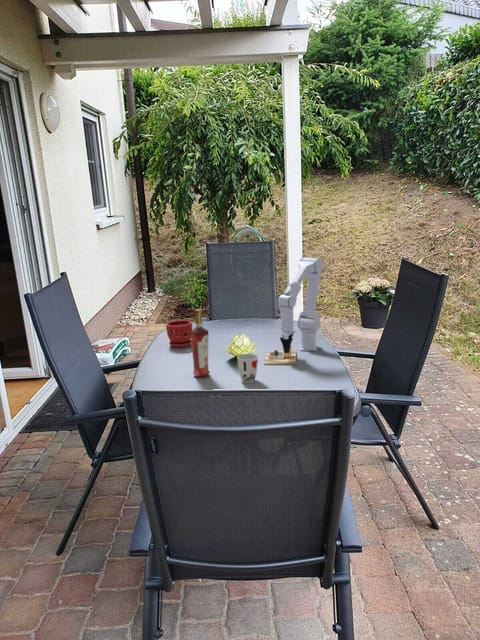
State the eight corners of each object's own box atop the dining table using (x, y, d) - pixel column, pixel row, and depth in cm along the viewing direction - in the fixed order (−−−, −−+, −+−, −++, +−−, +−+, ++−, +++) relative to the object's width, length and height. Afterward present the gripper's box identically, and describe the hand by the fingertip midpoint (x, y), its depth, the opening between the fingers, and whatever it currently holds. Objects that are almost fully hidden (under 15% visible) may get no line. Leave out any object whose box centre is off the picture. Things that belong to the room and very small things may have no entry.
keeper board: (266, 352, 227) (266, 344, 226) (296, 352, 225) (296, 344, 224) (263, 364, 209) (263, 356, 208) (295, 364, 208) (295, 356, 207)
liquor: (201, 371, 203) (198, 307, 196) (214, 374, 198) (211, 309, 192) (189, 376, 197) (185, 310, 191) (201, 379, 193) (198, 312, 186)
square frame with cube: (291, 354, 220) (291, 344, 219) (290, 359, 213) (290, 348, 212) (269, 354, 221) (269, 343, 220) (268, 358, 215) (268, 348, 213)
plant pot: (195, 341, 249) (194, 319, 247) (190, 348, 237) (189, 325, 234) (170, 341, 251) (169, 319, 248) (164, 348, 238) (163, 325, 235)
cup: (241, 385, 186) (240, 360, 184) (235, 378, 193) (235, 354, 191) (260, 382, 188) (260, 358, 186) (254, 376, 195) (254, 352, 193)
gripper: (295, 325, 205) (295, 355, 208) (296, 317, 219) (296, 345, 222) (278, 325, 206) (279, 354, 209) (281, 317, 220) (281, 345, 223)
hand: (287, 350), depth 216 cm, fingers open, 7 cm apart
